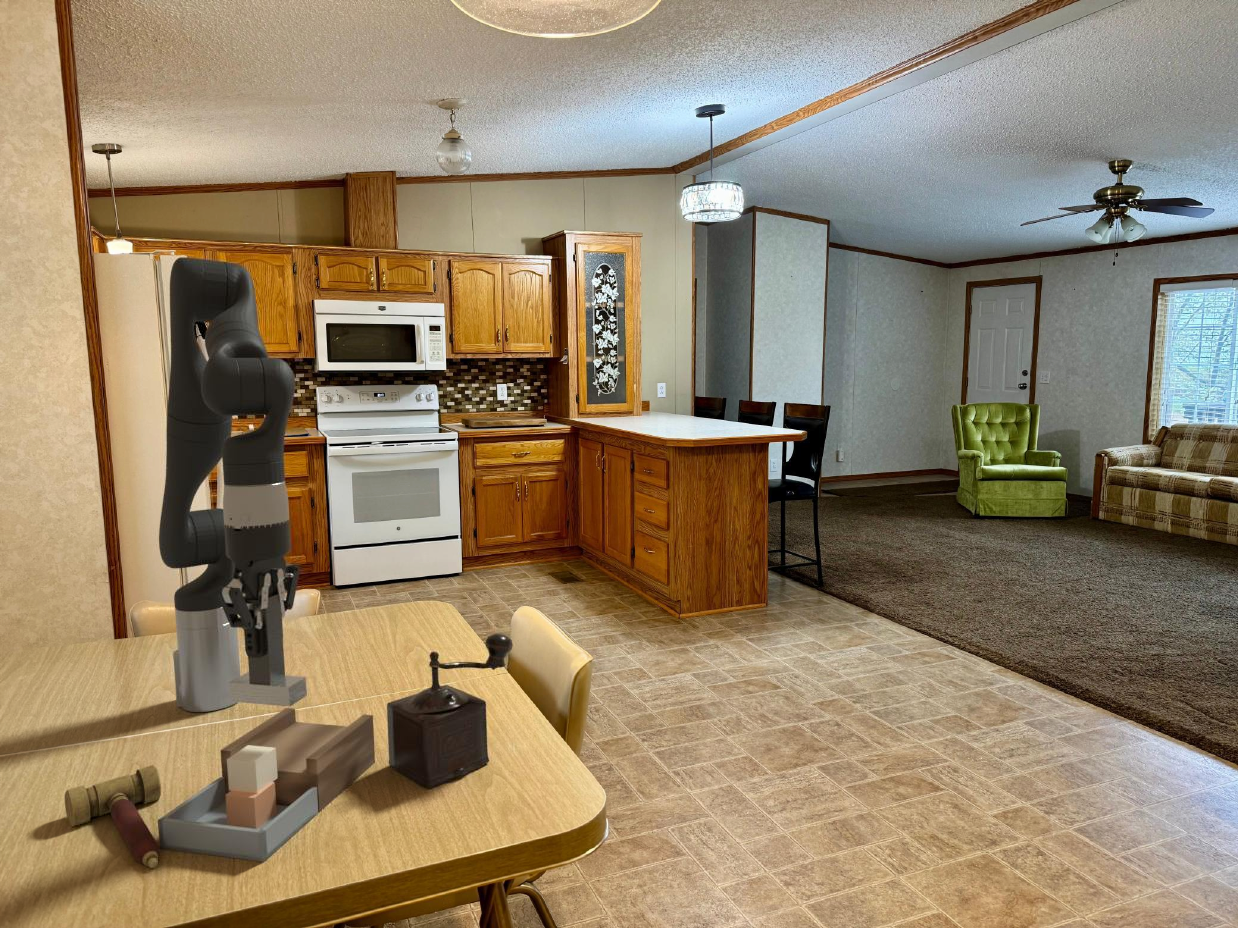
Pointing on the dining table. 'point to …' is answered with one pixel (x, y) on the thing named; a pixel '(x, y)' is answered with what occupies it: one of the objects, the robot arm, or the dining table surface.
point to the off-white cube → (252, 769)
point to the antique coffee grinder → (442, 725)
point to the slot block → (310, 755)
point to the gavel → (120, 809)
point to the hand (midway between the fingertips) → (265, 651)
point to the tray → (208, 832)
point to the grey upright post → (269, 667)
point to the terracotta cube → (251, 807)
